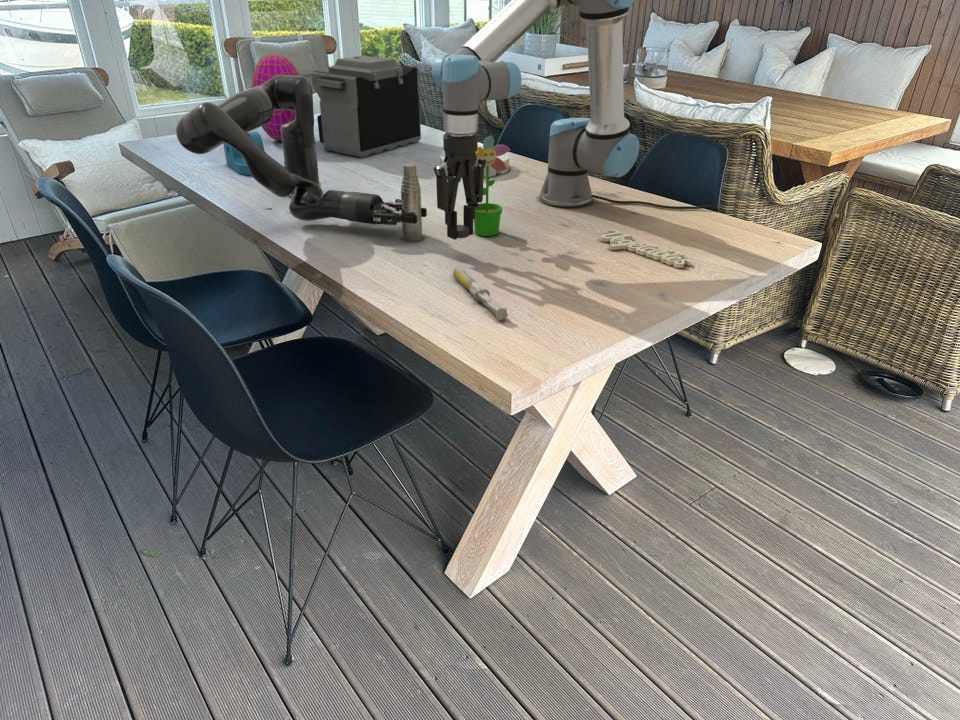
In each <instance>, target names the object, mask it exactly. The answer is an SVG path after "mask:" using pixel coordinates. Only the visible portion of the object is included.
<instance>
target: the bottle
mask: <svg viewBox="0 0 960 720" xmlns="http://www.w3.org/2000/svg"><path fill="white" fill-rule="evenodd" d="M402 168H403V175H402V179H401V185H400V188H401V189H400V200H401V202H402V214H403V213H409V214H416V215H417V218H418V222H417V223H416V224H412V223H405V222H403V223H402V239H403V241H406V242H419V241H422V239H423V223H422V222H423V221H422V218H423V217H421V207H422V191H421V185H420V181H419V177H418V176H419V175H418V174H417V164H416V163H413V162H407V163H404V164H403V166H402Z"/></svg>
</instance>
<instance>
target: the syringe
mask: <svg viewBox="0 0 960 720" xmlns="http://www.w3.org/2000/svg"><path fill="white" fill-rule="evenodd" d="M452 274H453V277H454V279H455V280H457V281H458V282H459V283H460V285H462V287H464V289H466V290H467V291H468V293H470V295H471V296H472V298H473V300H474V302H477V303H478V302H480V303H482V304H483V305H484V306H485V307H486V308H487V309H488V310H489V311H490V312H491V313H492V314H493V315H494V316H495V317H496V320H497V321H503V320H504V319H506V318H507V317H509V314H508V310H507V308H506V307H502V306H501V305H500V303H498V302H497V301H496V300H494V299H493V298H492V297H491V296H490V295H491V293H490V290H488V289H486V288H483V287H482V286H481V285H480V284H479V283H478V282H477V281H476V280H474V278H473V277H471V275H469V274H468V273H467V272H466V270H465V269H464V268H463V267H462V266H456V267H454V268H453V271H452Z"/></svg>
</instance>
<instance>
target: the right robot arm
mask: <svg viewBox="0 0 960 720" xmlns="http://www.w3.org/2000/svg"><path fill="white" fill-rule="evenodd" d="M634 2H635V0H510V1H509V2H508V3H507V4H506V5H505V6H503V8H502V9H500V11H498V13H496V14H495V15H494V16H493V17H491V19H490V20H489V21H488V22H487V23H485V24H484V25H483V26H482V28H480V29H479V30H478V31H477V32H476V33H475V34H474V35H473V36H472V37H471V38H470V39H468V40H467V41H466V42H465V43H464V44H463V45H462V46H461V47H460V48H459V49H457V50H456V51H455V52H454V53H453V54H449V53H448V54H442V55H440V56H438V57H437V58H436V59H435V60H434V61H433V64H432V67H431V78H432V80H433V82H434V84H435V85H436V87H438V88H439V89H441V90H442V108H443V109H442V110H443V112H442V128H443V129H442V130H443V132H445V133H444V134H443V137H442V140H443V142H442V143H443V144H442V145H443V153H444V152H445V158H444V163H443V164H439V165H434V166H433V172H434V174H435V182H436V207H437V209H439V210H441V211H443V212H444V224H445V225H446V236H447V238H450V239H451V240H458V238H457V225H458V211H457V210H455V208H456V202H457V195H458V189H459V184H460V182H461V181H462V185H463V192H464V196H465V197H464V199H465V204H464V205H463V215H462V216H463V219H462V220H463V224H462V225H465V226H468V227H469V229H470V235H469V236H473V235H474V219H475V207H476V208H477V207H478V206H479V204H480V203H483V200H484V195H483V188H484V181H485V180H484V178H485V177H484V168H485V165H486V160H485V159H482V158H479V157H477V155H476V151H477V149H478V147H479V145H478V143H479V141H478V140H479V135H478V134H477V133H478V131H479V103H481V102H487V101H495V100H505V99H508V98H512V97H515V96H516V95H517V94H518V93H519V91H520V90H521V87H522V72H521V70H520V68H519V67H518V65H517V64H516V63H515V62H513V61H504V60H500V61H498V59H499V58H500V57H501V56H503V54H505V53H506V52H507V51H508V50H509V49H510V48H511V47H512V46H513V45H514V44H515V43H517V41H518V40H520V38H522V36H524V35H525V34H526V33H527V32H528V31H529V30H530V29H531V28H532V27H533V26H534V25H535V24H536V23H537V22H538V21H539V20H540V19H542V18H543V16H545V15H551V14H553V13H554V12H555V11H556V10H557V9H558V8H561V7H563V6H567V5H575V6H578V9H579V19H580V20H581V21H583V23H585V25H586V42H587V43H586V45H587V64H588V85H589V89H588V90H589V109H590V118H589V117H570V118H568V117H567V118H562V119H556V120H554V121H553V122H552V123H551V125H550V129H549V130H550V131H549V135H548V156H547V158H548V159H547V173H546V176H545V178H544V181H543V184H542V187H541V189H540V192H539V200H540V202H542V203H543V204H546V205H549V206H553V207H558V208H559V207H560V208H580V207H584V206H588V205H589V204H591V203H592V199H598V200H602V201H606V202H609V203H613V204H625V205H627V204H634V205H635V204H637V205H645V206H652V207H656V208H660V209H669V210H701V209H713V210H715V212H720V209H719V208H718V207H716V206H714V205H711V204H710V205H709V204H707V205H699V206H697V205H696V206H691V205H690V206H687V205H686V206H679V205H678V206H673V205H663V204H657V203H653V202H648V201H641V200H615V199H610V198H606V197H603V196H600V195H595V194H593V193H592V188H591V184H590V179H589V172H592V173H596V174H600V175H603V176H605V177H613V178H620V177H623V176H626V175H627V173H629V172H630V170H631V169H632V168H633V167H634V164H635V163H636V162H637V159H638V157H639V153H640V140H639V138H638V137H637V135H635V134H633V133H631V123H630V120H629V119H627V118H626V117H625V104H624V103H625V102H624V100H625V99H624V97H625V96H624V95H625V92H624V43H623V42H624V38H623V36H624V34H623V33H624V31H623V29H624V28H623V20H624V18H625V17H626V16H627V15H628V14H629V12H630V10H629V9H630V8H629V7H630V6H631V5H633V4H634ZM447 170H448V172H447Z"/></svg>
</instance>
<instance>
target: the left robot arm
mask: <svg viewBox="0 0 960 720" xmlns="http://www.w3.org/2000/svg"><path fill="white" fill-rule="evenodd" d="M312 87H313V86H312V83H311V82H310V79H309V78H308V77H306V76H304V75H300V76H295V75H277V76H275V77H273V78H271V79H269V80H268V81H266V82H265V83H263V84H262V85H260V86H256V87H253V88H252V87H251V88H247V89H244V90H242V91H239V92H236V93H234V94H233V95H230V96H229V97H227V98H226V99H224V100H223V101H220V103H218V104H216V103H213V102H209V101H206V102H205V101H204V102H202V103H200V104H198V105H197V106H195V107H194V108H192V109H191V110H190V111H188V112H186V113H185V114H183V115H182V116H181V118H179V120H178V122H177V124H176V128H175V134H176V135H175V136H176V138H177V141H178V142H179V144H180V145H181V146H182V147H183V148H184V149H185V150H187V151H188V152H190V153H192V154H197V155H206V154H208V153H211V152H212V151H213V150H216V148H218V147H220V146H221V145H224V144H223V143H227V144H229V145H231V146H232V147H234V148H235V149H236V150H238V151H239V152H240V154H241V155H242V157H243V158H244V160H245V163H246V165H247V167H248V170H249V172H250V173H251V175H250V176H251V177H252V178H253V180H255V181H256V182H257V183H258V184H259V185H261V186H262V187H263V188H265V189H266V190H267V191H269V192H270V193H272V194H273V195H275V196H276V197H278V198H286V197H288V196H289V197H291V199H290V202H289V205H288V211H289V213H290V215H292V216H293V218H295V219H297V220H300V221H305V222H310V221H316V220H324V219H331V218H333V219H340V220H346V221H349V222H352V223H360V224H367V225H373V226H374V225H375V226H376V225H382V226H383V225H386V226H397V225H398V224H403V222H405V223H412V224H416V223H417V222H418V218H417V215H416V214H409V213H403V214H402V202H401V198H395V200H394V201H395V202H393V201H384V200H383V198H382V197H381V195H379V194H374V193H368V192H367V193H366V192H358V191H344V190H335V189H330V190H326V191H325V193H324V192H323V189H322V184H321V183H322V182H321V181H320V174H319V166H318V165H319V164H318V157H317V148H316V140H315V139H316V138H315V114H314V113H315V112H314V98H313V97H314V96H313V95H314V94H313V88H312ZM274 110H291V111H295V119H294V120H293V121H291V122H288V123H285V124H283V125H282V126H281V128H280V129H281V137H282V141H281V145H282V151H283V159H284V161H283V165H282V164H281V163H279V162H278V161H277V160H275V159H274V158H273V157H272V156H270V154H268V153H267V152H266V151H265V150H264V151H263V150H262V149H261V148H260V147H259V146H258V145H257V143H256V142H255V141H254V140H253V139H252V138H251V137H250V136H249V135H248V134H247V132H253V131H254V130H257V129H259V128H262V127H261V126H263V125H265V124H266V123H268V122H269V121H270V119H271V118H272V115H273V111H274ZM427 216H428V210H427V208H426V207H422V206H421V217H422V218H426V217H427Z"/></svg>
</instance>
